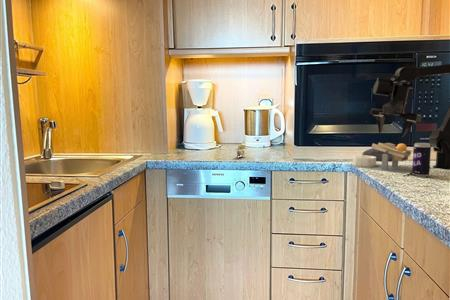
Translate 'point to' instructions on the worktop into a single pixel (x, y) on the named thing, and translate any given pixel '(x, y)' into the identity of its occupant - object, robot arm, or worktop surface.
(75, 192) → the worktop surface
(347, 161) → the worktop surface
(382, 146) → the wooden tray
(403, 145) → the ball
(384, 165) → the launcher base
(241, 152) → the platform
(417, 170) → the beverage can
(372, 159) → the beige round puck
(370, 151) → the perforated stone tool
